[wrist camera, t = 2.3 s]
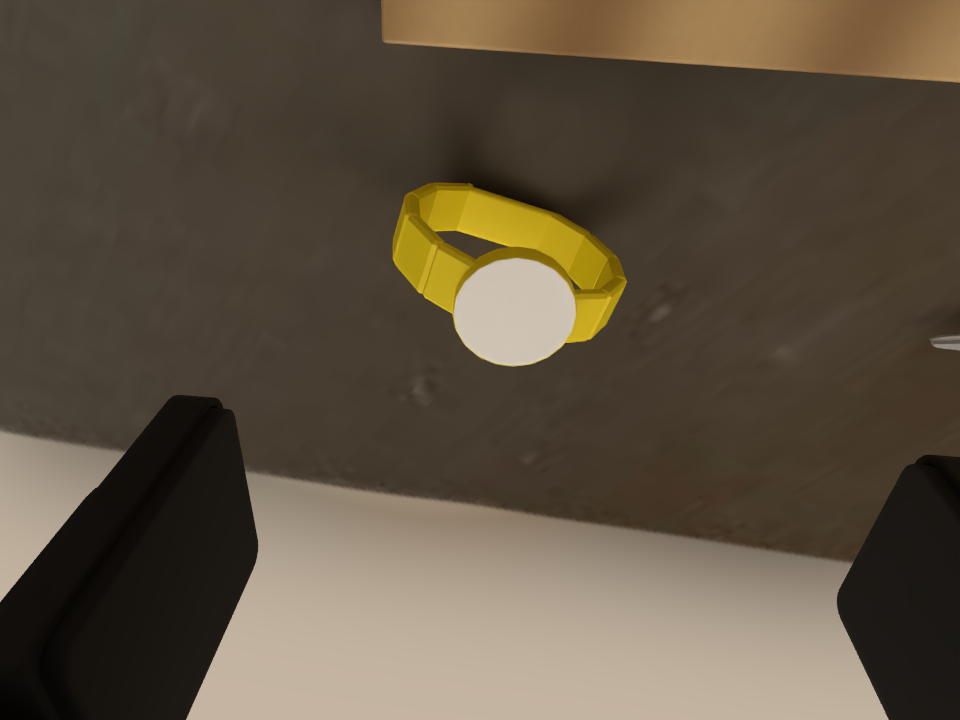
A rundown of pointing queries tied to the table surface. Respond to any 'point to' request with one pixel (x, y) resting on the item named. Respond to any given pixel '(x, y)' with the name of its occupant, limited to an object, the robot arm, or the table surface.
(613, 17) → the desk stand
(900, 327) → the table surface
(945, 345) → the scissors
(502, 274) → the watch
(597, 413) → the table surface
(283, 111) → the table surface
